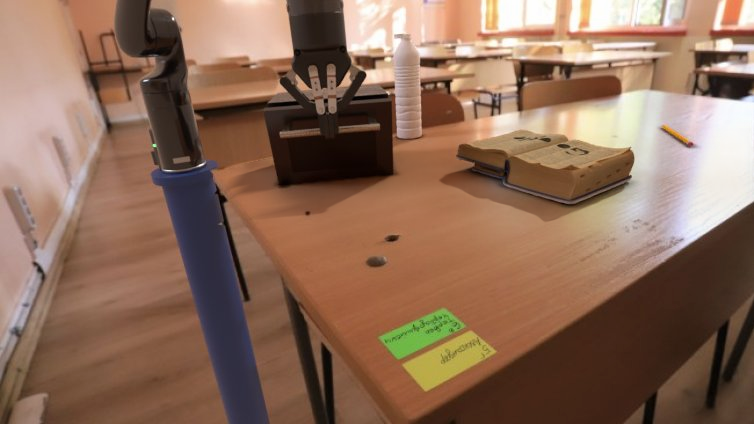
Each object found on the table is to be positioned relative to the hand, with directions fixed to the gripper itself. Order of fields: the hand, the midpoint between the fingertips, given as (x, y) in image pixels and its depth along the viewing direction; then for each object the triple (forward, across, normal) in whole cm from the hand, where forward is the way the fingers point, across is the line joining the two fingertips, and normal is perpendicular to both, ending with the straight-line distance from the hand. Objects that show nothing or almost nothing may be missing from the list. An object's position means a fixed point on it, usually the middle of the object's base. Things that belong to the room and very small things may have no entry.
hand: (330, 137), depth 63 cm
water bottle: (+11, -19, -44) cm, 49 cm away
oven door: (+11, 0, -12) cm, 16 cm away
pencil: (+11, -76, -22) cm, 80 cm away
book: (+11, -36, -5) cm, 38 cm away
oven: (+11, 0, -23) cm, 25 cm away
